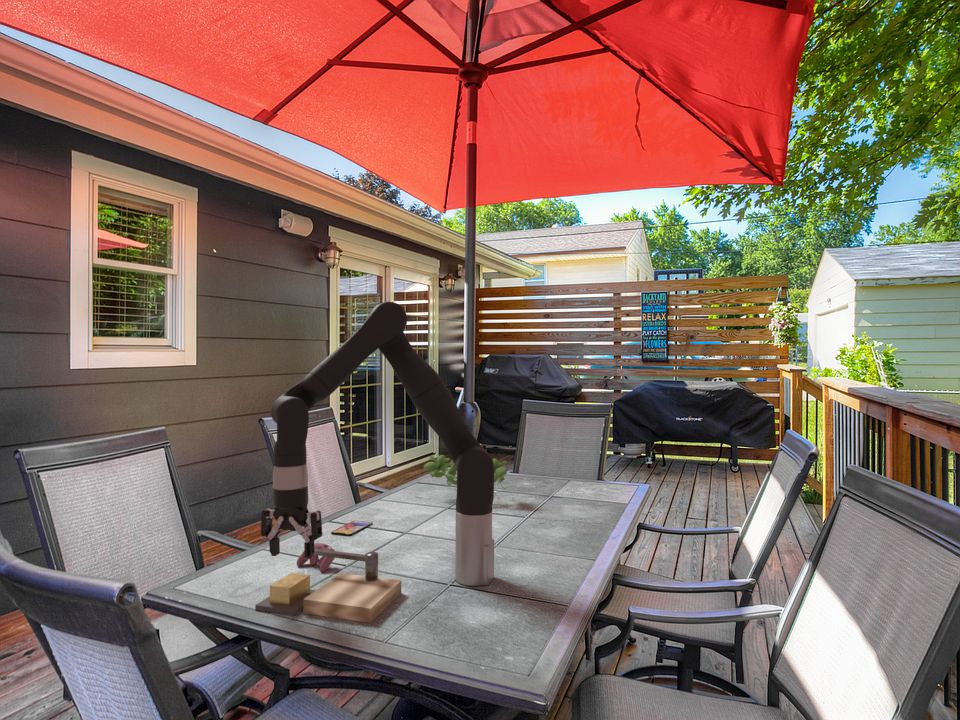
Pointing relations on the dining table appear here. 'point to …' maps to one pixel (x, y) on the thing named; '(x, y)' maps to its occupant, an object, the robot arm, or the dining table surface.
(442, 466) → the plant cuttings
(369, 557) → the clamp lever
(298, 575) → the brown rectangular block
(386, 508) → the dining table surface
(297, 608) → the mat
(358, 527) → the smartphone
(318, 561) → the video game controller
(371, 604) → the base plate
